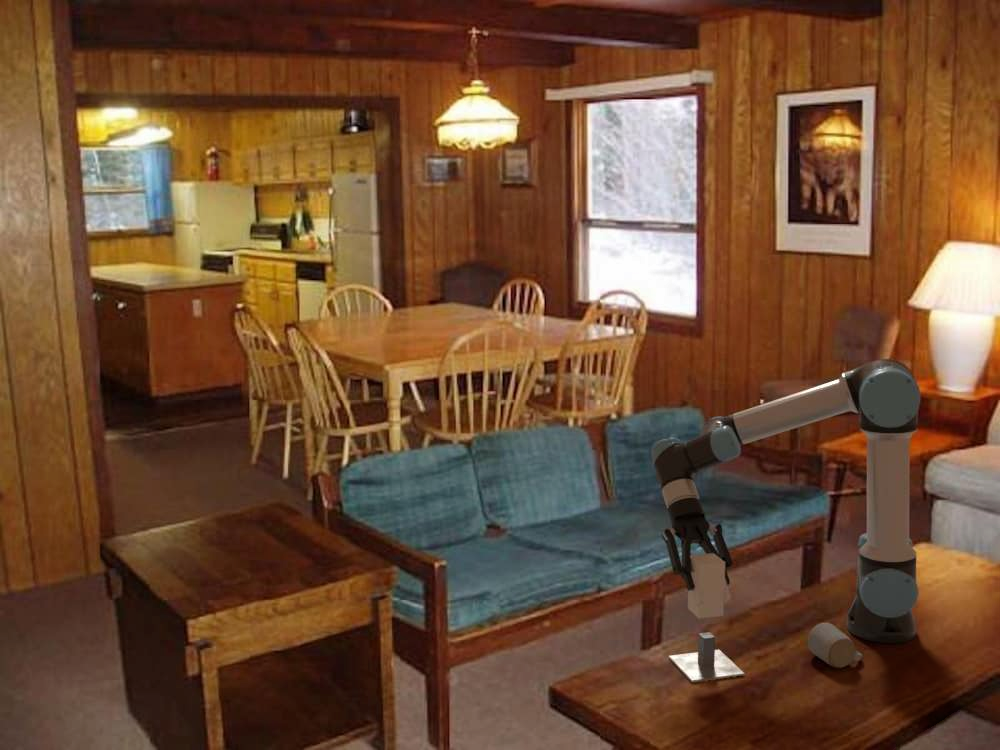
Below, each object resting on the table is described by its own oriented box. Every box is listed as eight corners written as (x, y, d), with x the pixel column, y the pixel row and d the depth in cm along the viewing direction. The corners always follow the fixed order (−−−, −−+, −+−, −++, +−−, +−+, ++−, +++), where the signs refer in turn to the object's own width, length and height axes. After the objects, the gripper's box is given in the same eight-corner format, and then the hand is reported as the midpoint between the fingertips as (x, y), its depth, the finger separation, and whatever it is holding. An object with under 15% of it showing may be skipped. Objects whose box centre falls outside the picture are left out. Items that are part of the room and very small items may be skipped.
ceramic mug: (828, 672, 225) (831, 638, 224) (805, 656, 233) (807, 623, 232) (870, 665, 229) (872, 632, 228) (845, 650, 237) (848, 617, 235)
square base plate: (719, 651, 236) (719, 621, 234) (744, 675, 224) (745, 643, 223) (668, 658, 233) (669, 627, 232) (692, 683, 221) (692, 650, 220)
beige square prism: (711, 605, 230) (713, 553, 228) (723, 615, 225) (725, 562, 222) (687, 608, 229) (689, 555, 226) (699, 618, 223) (700, 564, 221)
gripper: (716, 508, 240) (747, 604, 228) (639, 515, 236) (667, 613, 223) (727, 492, 234) (760, 590, 222) (649, 499, 230) (678, 599, 217)
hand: (713, 601), depth 222 cm, fingers closed on beige square prism, 6 cm apart
